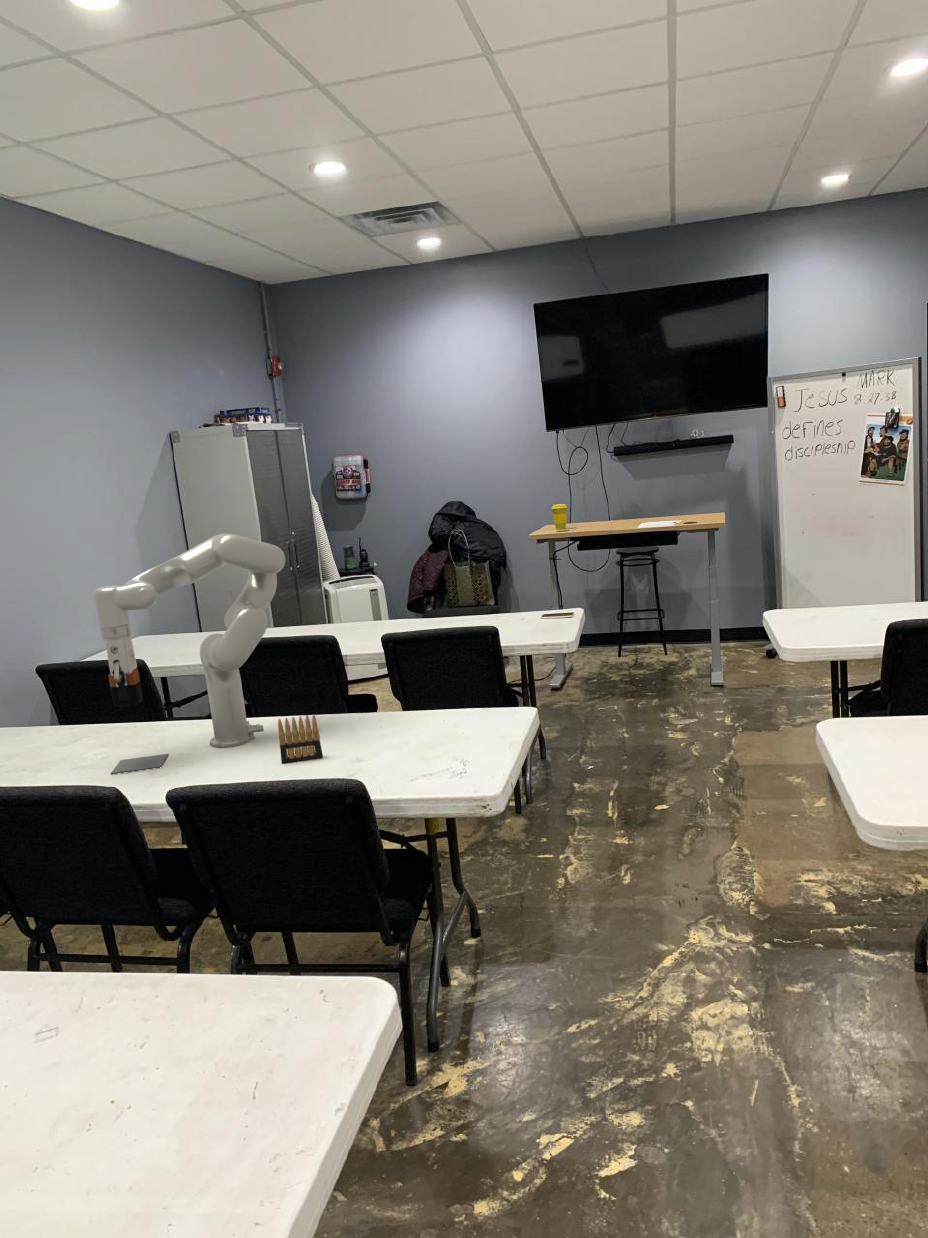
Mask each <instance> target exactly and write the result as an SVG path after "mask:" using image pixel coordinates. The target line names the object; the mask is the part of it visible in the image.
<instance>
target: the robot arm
mask: <svg viewBox="0 0 928 1238" xmlns="http://www.w3.org/2000/svg"><path fill="white" fill-rule="evenodd" d="M285 564H286V555H285V553H284V551H283V550H282V549H281V548H280V547H279V546H277V545H274V544H272V543H268V542H264V541H261V540H260V541H259V540H256V539H252V538H248V537H246V536H245V537H244V536H241V535H238V534H234V533H220V534H219V533H218V534H216V535H214V536H212V537H210V538H207V540H205V541H202V542H201V543H199V544H197V545H195V546H194V547H192V548H190V549H188V550H186V551H184V552H183V553H181V554H179V555H176V556H174V557H172V558H169V559H168V560H166V561H165V562H162V563H160V564H158V565H156V566H154V567H151V568H149V569H148V570H146V571H144V572H142V573H140V574H138V575H137V576H135V577H133V578H132V579H129V580H127V582H125V583H124V585H117V584H116V585H115V584H114V585H107V586H106V585H105V586H102V587H98V588H96V589H95V590H94V593H93V597H94V602H95V606H96V613H97V618H98V619H97V620H98V625H99V629H100V637H101V640H102V641H105V645H106V647H105V649H106V654H107V655H106V656H107V660H108V667H109V672H110V674H111V675H112V676H114V679H115V681H116V687H117V693H118V698H119V701H128V700H131V699H132V697H131V691H130V686H129V685H128V680H127V674H128V675H129V674H131V673H132V671H133V670H134V669H138V664H137V659H136V654H135V651H134V650H135V649H134V645H133V641H132V638H131V637H132V636H133V633H132V628H131V621H130V616H129V611H139V610H140V611H142V610H148V609H150V608H152V607H153V606H154V605H155V604H156V603H157V601H158V597H159V595H161V594H163V593H165V592H167V591H169V590H172V589H175V588H179V587H184V586H188V585H191V584H194V583H196V582H198V581H200V580H201V579H204V578H205V577H206V576H208V575H210V574H212V573H213V572H216V571H217V570H220V569H221V568H223V567H225V566H226V565H231V566H235V567H238V568H241V569H246V570H247V572H248V575H247V576H248V578H247V582H246V583H245V585H244V587H243V589H242V591H241V592H240V593H239V595H238V596H237V598H236V599H235V601H234V602H233V603H232V605H231V606H230V607H229V608H228V610H227V611H226V612H225V615H224V617H223V619H224V620H223V622H224V623H223V624H224V626H225V628H226V629H225V632H224V633H213V634H209V635H208V636H206V637H205V638H204V639H203V641H202V642H201V644H200V649H199V656H200V661H201V666H202V669H203V672H204V677H205V682H206V689H207V695H208V702H209V709H210V715H211V720H212V721H211V722H212V729H213V734H214V735H213V737H212V738H210V740H209V745H210V746H211V747H214V748H230V747H231V748H232V747H235V746H241V745H244V744H247V743H249V742H251V741H253V740H254V739H255V733H264V731H265V730H264V728H265V727H264V725H263V724H260V723H258V724H250V721H249V720H247V714H246V706H245V701H244V700H245V699H244V694H243V687H242V686H243V685H242V679H241V673H240V670H239V669H240V668H241V667H242V666H244V664H245V663H246V662H247V660H248V659H249V657H250V656H251V654H252V653H253V651H254V650H255V648H256V647H257V645H259V643H260V641H261V640H262V638H263V636H264V635H265V633H266V631H267V629H268V623H269V622H268V615H267V614H266V612H265V611H266V610H267V608H268V606H269V605H270V603H271V601H273V598H274V596H275V594H276V591H277V586H278V585H277V584H278V577H277V573H279V572H281V571H282V570H283V569H284V567H285ZM123 672H124V674H123V675H120V673H123ZM121 677H124V679H123V678H121Z"/></svg>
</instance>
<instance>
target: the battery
mask: <svg viewBox="0 0 928 1238" xmlns="http://www.w3.org/2000/svg"><path fill="white" fill-rule="evenodd" d="M123 674H124V672H123V673H120V675H123ZM121 678H123V679H124V677H121ZM127 680H128V685H129V686H130V691H131V697H132V699H131V700H128V701H119V698H118V693H117V687H116V681H115V679H114V676H112V675H111V673H109V674H108V682H109V686H110V692H111V697H112V698H111V699H112V702H113V707H114V708H118V707H119V708H120V707H121V708H122V707H128V706H134V705H135V706H136V705H137V706H138V705H140V704H141V703H142V702H143V701H144V696H143V690H142V684H141V678H140V673H139V669H138V668H136V669H134V670H133V671H132V673H131V674H129V675H128V674H127Z"/></svg>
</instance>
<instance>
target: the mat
mask: <svg viewBox="0 0 928 1238" xmlns="http://www.w3.org/2000/svg"><path fill="white" fill-rule="evenodd" d="M169 754H170V753H169V752H168V753H162V754H156V755H149V756H142V757H141V756H139V757H133V758H126V759H120V760H119V762H118V763H117V764H116V765H115V766H114V768H113V769H112V770H111V772H110V775H111V776H112V775H113V774H114V775H119V774H118V773H121V774H125V773H124V772H128V773H133V772H132V771H135V772H140V771H139V770H142V771H147V770H146V769H150V770H154V769H153V768H157V769H161V768H163V766H164V764H165V762H166V761H167V759H168V757H169ZM160 767H161V768H160Z"/></svg>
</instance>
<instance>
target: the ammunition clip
mask: <svg viewBox="0 0 928 1238" xmlns="http://www.w3.org/2000/svg"><path fill="white" fill-rule="evenodd" d="M277 721H278V722H277V728H278V729H277V730H278V743H279V750H280V761H281V765H285V764H287V765H288V764H293V763H300V762H301V763H302V762H309V761H314V760H323V758H324V756H323V751H322V744H321V738H320V737H321V736H320V729H319V728H318V721H317V717H316V716H315V714H314V713H313V714H312V717H311V721H310V718H309V716H308V715H307V714H306V715H305V722H303V718H302V716H300V715H299V717H298V725H297V721H296V718H295V717H294V716H293V717H292V719H291V724H290V721H289V719H288V718H287V717H285V719H284V726H283V722H282V720H281V719H280V718H278V720H277ZM304 723H305V725H304ZM311 723H312V725H311ZM290 725H291V726H290ZM311 726H312V727H311ZM284 727H285V728H284ZM284 729H285V731H284Z"/></svg>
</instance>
